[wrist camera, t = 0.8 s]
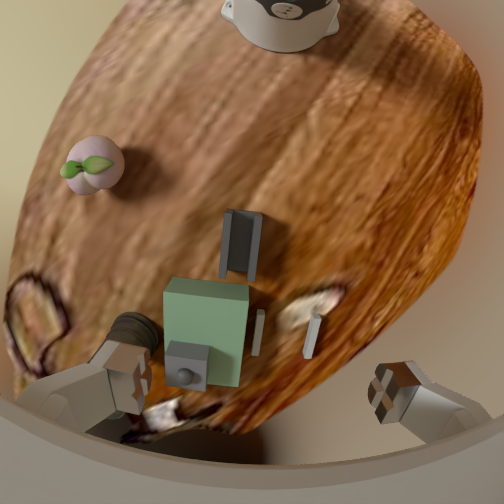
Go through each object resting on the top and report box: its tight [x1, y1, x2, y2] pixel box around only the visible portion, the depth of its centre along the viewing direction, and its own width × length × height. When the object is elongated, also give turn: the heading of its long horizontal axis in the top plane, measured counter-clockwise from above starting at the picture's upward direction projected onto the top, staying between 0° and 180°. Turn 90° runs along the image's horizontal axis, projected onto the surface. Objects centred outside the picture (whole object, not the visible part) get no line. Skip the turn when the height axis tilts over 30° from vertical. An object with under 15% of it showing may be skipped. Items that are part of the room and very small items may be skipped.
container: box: [87, 312, 159, 419], centre depth 38 cm, size 9×9×18 cm
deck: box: [163, 277, 321, 391], centre depth 42 cm, size 16×24×11 cm, turn 83°
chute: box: [218, 209, 263, 282], centre depth 41 cm, size 5×9×5 cm, turn 173°
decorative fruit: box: [60, 135, 125, 196], centre depth 34 cm, size 9×8×10 cm
